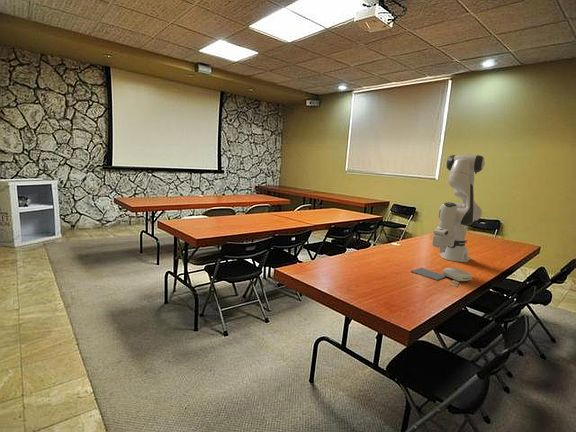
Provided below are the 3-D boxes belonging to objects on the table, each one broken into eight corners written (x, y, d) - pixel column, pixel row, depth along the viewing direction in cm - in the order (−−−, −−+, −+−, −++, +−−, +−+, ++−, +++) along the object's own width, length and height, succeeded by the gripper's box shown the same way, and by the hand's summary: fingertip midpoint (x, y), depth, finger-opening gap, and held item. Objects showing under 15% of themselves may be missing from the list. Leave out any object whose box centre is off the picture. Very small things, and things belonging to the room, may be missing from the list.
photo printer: (455, 266, 190) (474, 274, 179) (454, 273, 191) (473, 281, 180) (443, 267, 186) (461, 275, 175) (441, 275, 187) (460, 283, 176)
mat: (421, 268, 199) (421, 267, 199) (447, 276, 187) (447, 275, 187) (410, 271, 192) (410, 270, 192) (436, 280, 179) (437, 279, 179)
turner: (454, 277, 187) (454, 276, 187) (461, 279, 185) (461, 277, 185) (449, 285, 174) (450, 283, 174) (457, 287, 172) (457, 285, 172)
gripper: (448, 227, 202) (445, 248, 204) (432, 230, 189) (428, 253, 192) (459, 229, 197) (455, 251, 200) (442, 233, 184) (439, 256, 187)
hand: (442, 252), depth 196 cm, fingers closed
